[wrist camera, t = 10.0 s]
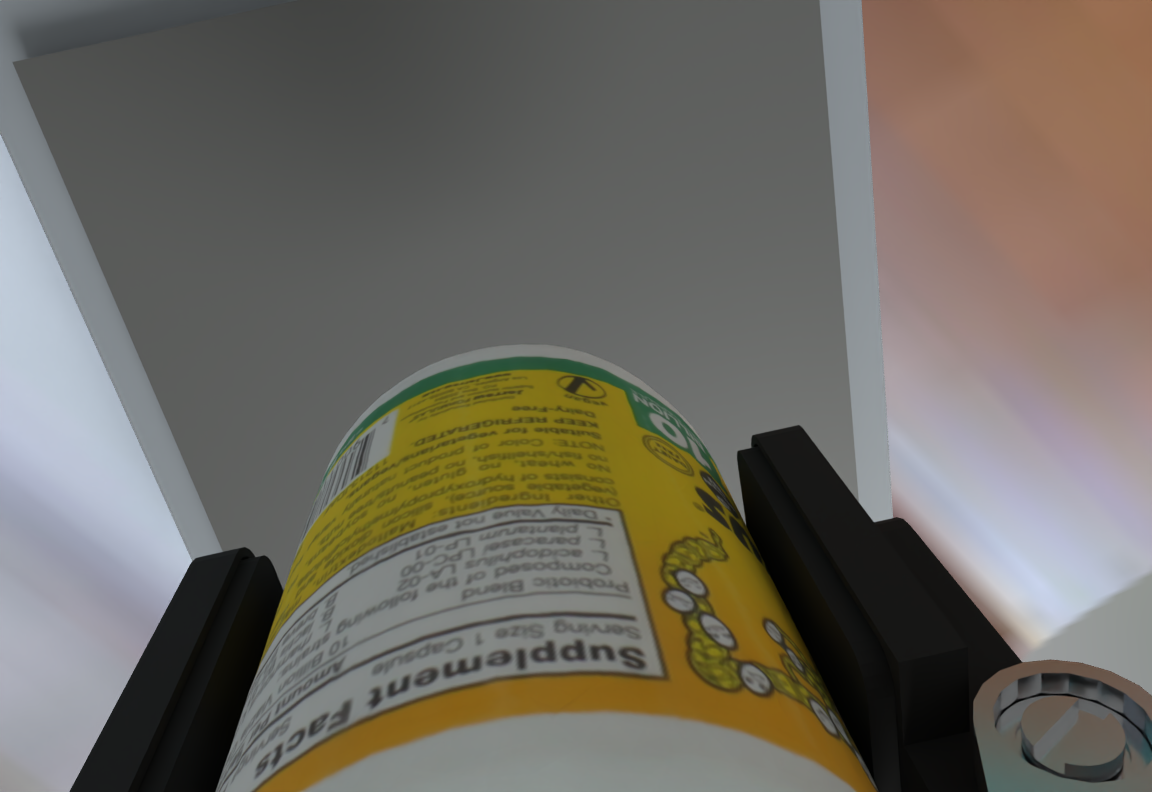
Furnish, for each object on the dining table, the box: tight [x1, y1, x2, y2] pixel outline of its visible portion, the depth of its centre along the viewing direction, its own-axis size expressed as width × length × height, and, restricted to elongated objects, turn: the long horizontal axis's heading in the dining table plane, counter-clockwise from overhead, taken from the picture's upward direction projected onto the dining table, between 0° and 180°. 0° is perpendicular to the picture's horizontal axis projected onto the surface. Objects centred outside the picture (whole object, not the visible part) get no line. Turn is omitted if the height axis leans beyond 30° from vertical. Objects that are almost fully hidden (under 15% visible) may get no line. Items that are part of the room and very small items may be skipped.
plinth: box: [0, 0, 893, 590], centre depth 21 cm, size 16×16×5 cm
